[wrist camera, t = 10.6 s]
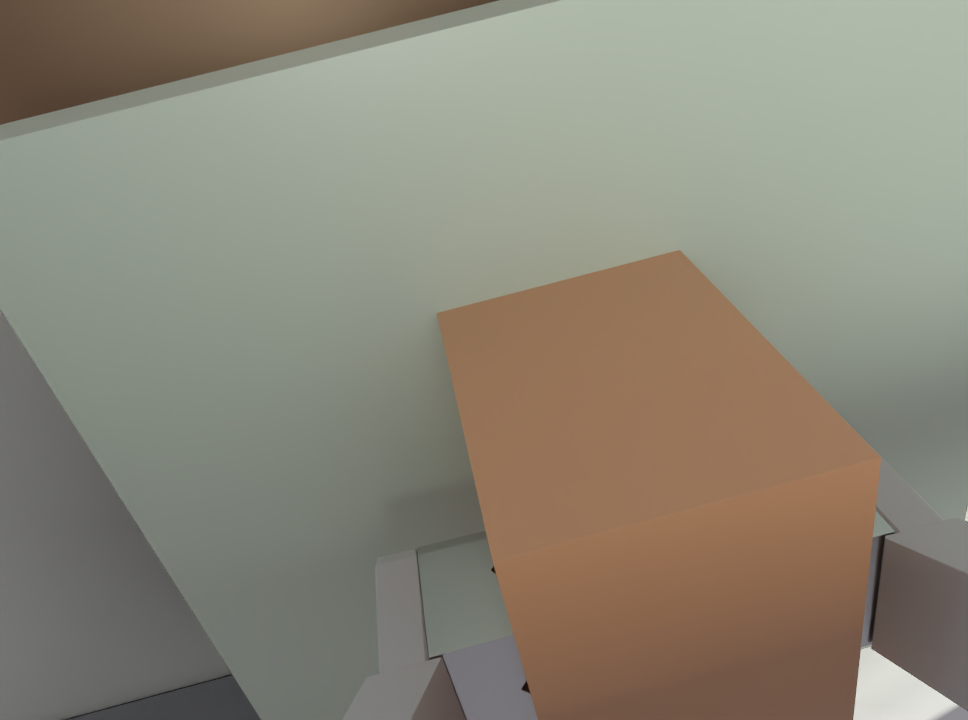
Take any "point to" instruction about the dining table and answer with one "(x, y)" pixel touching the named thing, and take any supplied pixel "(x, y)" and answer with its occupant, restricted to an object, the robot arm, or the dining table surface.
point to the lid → (523, 333)
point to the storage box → (186, 705)
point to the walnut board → (166, 41)
